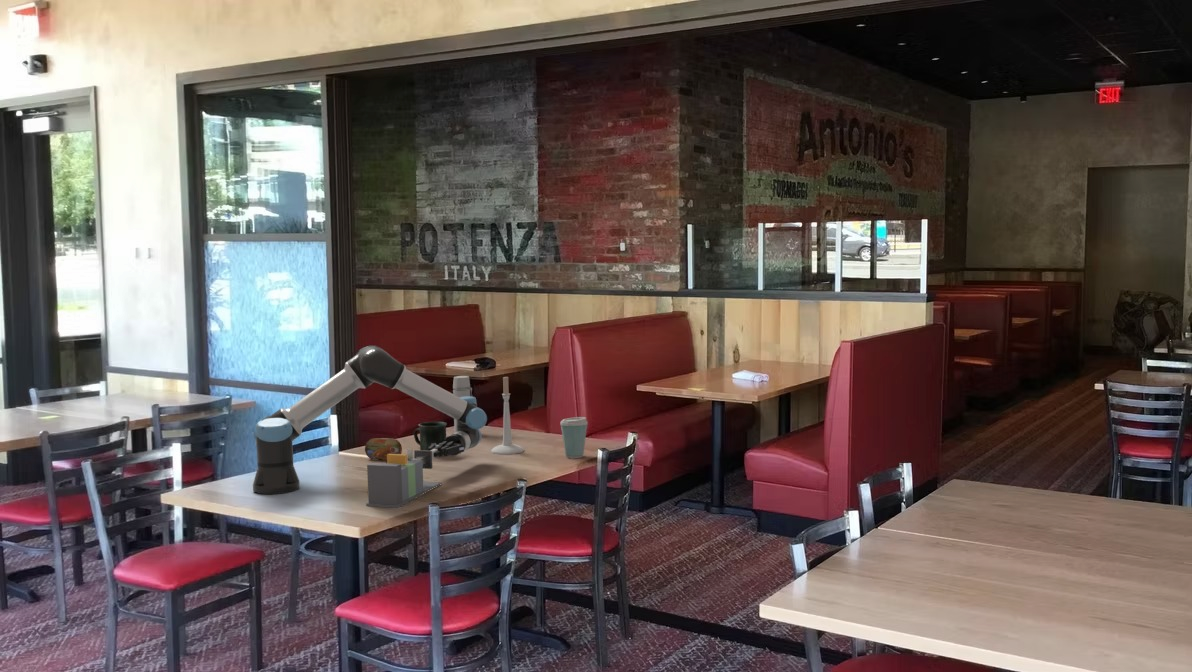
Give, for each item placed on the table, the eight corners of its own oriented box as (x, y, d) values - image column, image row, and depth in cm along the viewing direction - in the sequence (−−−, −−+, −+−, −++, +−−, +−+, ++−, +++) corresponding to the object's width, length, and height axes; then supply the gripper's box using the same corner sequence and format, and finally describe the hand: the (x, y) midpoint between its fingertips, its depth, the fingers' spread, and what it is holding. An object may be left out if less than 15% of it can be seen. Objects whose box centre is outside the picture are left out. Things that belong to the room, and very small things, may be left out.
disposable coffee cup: (560, 459, 386) (559, 420, 385) (560, 454, 397) (559, 416, 395) (588, 459, 386) (588, 420, 385) (588, 453, 397) (587, 415, 396)
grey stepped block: (412, 483, 352) (411, 445, 351) (441, 484, 349) (440, 447, 347) (366, 505, 321) (364, 465, 320) (398, 507, 318) (396, 466, 317)
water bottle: (454, 435, 440) (452, 378, 438) (454, 432, 448) (453, 376, 446) (475, 435, 441) (473, 377, 439) (475, 431, 449) (474, 375, 447)
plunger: (416, 467, 349) (415, 443, 348) (432, 468, 347) (431, 443, 346) (392, 478, 332) (391, 452, 332) (409, 479, 331) (408, 453, 330)
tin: (364, 459, 393) (364, 437, 393) (369, 457, 396) (368, 436, 396) (399, 461, 389) (398, 439, 388) (403, 459, 392) (402, 438, 391)
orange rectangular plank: (389, 462, 331) (389, 453, 330) (407, 463, 329) (407, 454, 329) (387, 463, 329) (386, 454, 329) (405, 464, 327) (404, 455, 327)
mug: (437, 457, 394) (436, 427, 393) (406, 454, 401) (405, 424, 400) (453, 452, 404) (452, 422, 403) (423, 449, 411) (422, 420, 410)
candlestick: (496, 447, 412) (494, 374, 409) (527, 448, 410) (525, 374, 407) (487, 454, 399) (485, 378, 397) (519, 454, 397) (517, 378, 395)
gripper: (473, 454, 370) (445, 468, 348) (440, 453, 374) (410, 466, 352) (472, 434, 370) (444, 446, 347) (439, 432, 373) (409, 445, 351)
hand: (427, 456), depth 349 cm, fingers closed
